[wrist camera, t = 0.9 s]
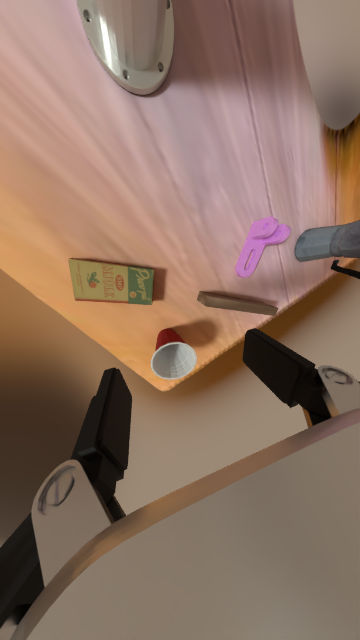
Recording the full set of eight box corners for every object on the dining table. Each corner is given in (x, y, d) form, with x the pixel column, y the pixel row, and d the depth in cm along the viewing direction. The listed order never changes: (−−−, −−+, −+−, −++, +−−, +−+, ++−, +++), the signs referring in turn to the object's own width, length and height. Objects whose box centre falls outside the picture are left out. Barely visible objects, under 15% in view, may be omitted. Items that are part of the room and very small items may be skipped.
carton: (76, 257, 28) (66, 257, 24) (153, 268, 33) (155, 269, 29) (81, 296, 31) (73, 301, 27) (151, 301, 36) (153, 305, 32)
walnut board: (199, 291, 38) (208, 296, 32) (262, 302, 45) (278, 308, 40) (197, 299, 38) (206, 306, 33) (259, 309, 46) (274, 315, 41)
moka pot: (328, 219, 39) (483, 186, 21) (305, 274, 45) (410, 283, 27) (306, 213, 36) (459, 170, 19) (284, 272, 42) (384, 281, 25)
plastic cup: (150, 319, 37) (154, 342, 27) (186, 322, 41) (202, 343, 30) (146, 351, 41) (148, 382, 31) (179, 351, 44) (191, 379, 34)
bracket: (252, 222, 34) (277, 214, 28) (267, 230, 36) (293, 224, 30) (232, 274, 38) (249, 276, 32) (246, 278, 40) (265, 282, 34)
